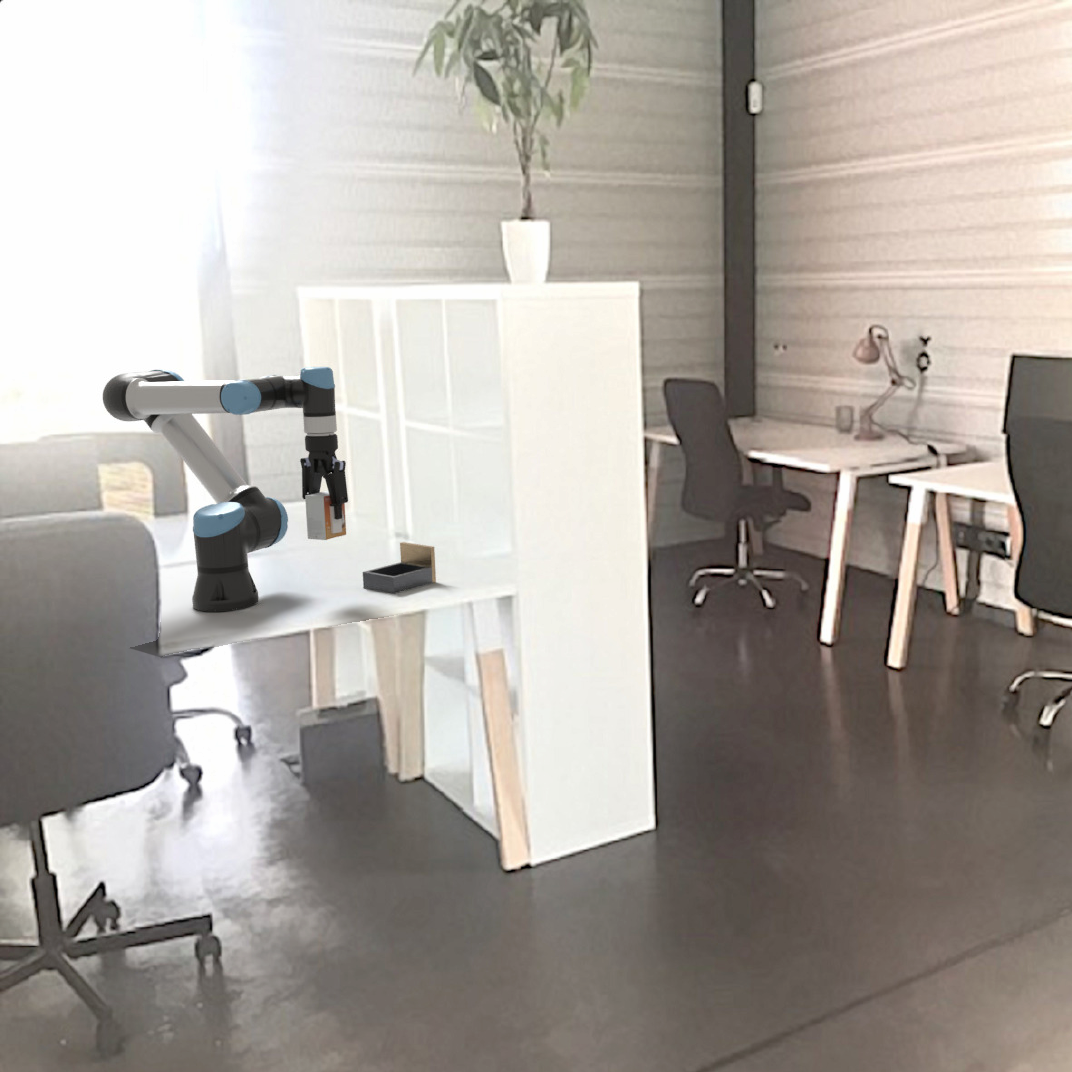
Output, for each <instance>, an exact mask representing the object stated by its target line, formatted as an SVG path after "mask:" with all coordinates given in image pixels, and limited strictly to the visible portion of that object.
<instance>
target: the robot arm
mask: <svg viewBox="0 0 1072 1072" xmlns="http://www.w3.org/2000/svg"><path fill="white" fill-rule="evenodd" d="M334 379H335V378H334V372H333V369H332V368H331V367H329V366H308V367H307V366H306V367H301V369H300V374H299V375H278V374H273V375H263V376H261V377H260V378H251V379H229V380H227V379H225V380H223V379H222V380H194V381H193V380H190V381H189V380H187V381H186V380H184V379H183V377H181V376H180V374H178V373H176V372H174V371H172V370H166V369H164V370H163V369H153V370H149V371H138V372H127V373H126V372H125V373H120V374H118V375H115V376H114V377H112V378H111V379H110V380H109V381H107V383H106V384H105V385H104V387H103V391H102V402H103V405H104V408H105V410H106V412H108V414H109V415H110V416H111V417H113V418H114V419H117V420H118V421H121V422H138V421H144V422H145V423H146V425H147V426H148V428H150V430H151V431H152V432H153V433H154V434H162V435H163V436H164V438H165V439H166V440H167V441H168V443H169V444H170V445H171V447H172V448H173V449H174V450H175V452H176V453H177V455H179V457H180V459H182V461H183V462H184V463H185V465H186V466H187V467H188V469H189V470H190V471H191V472H192V474H193V475H194V476H195V477H196V478H197V480H198V481H199V483H201V485H202V486H203V487H204V489H205V490H206V492H207V493H209V495H210V496H211V498H212V499H213V500H214V501H215V503H212V504H208V505H205V506H203V507H201V508H199V509H198V510H196V511H195V513H194V514H193V517H192V518H193V521H192V522H193V523H192V524H193V526H192V532H193V538H194V549H195V551H194V552H195V558H196V568H197V569H196V570H197V578H196V581H195V586H194V590H193V595H192V599H191V600H192V608H193V609H195V610H197V611H202V612H209V613H210V612H212V613H213V612H215V613H216V612H230V611H235V610H237V611H238V610H241V609H242V610H243V609H247V608H250V607H252V606H255V605H256V604H258V603H259V600H260V599H259V598H260V597H259V592H258V589H257V586H256V585H255V584H256V583H255V582H254V580H253V577H252V575H251V571H250V570H249V562H248V561H249V560H248V554H250V553H252V552H256V551H259V550H262V549H267V548H270V547H272V546H274V545H276V544H277V543H279V542H280V541H282V539H283V538H285V535H286V534H287V532H288V529H289V527H288V523H289V517H288V516H289V514H288V513H287V510H286V507H285V506H284V504H283V503H282V502H281V501H280V500H278V499H276V498H273V497H269V496H267V497H266V496H265V495H264V494H263V492H262V491H261V490H260V488H259V487H257V486H255V485H249V484H247V482H246V481H245V480H244V479H243V477H242V476H241V475H240V474H239V472H238V471H237V470H236V468H235V467H234V465H232V463H231V462H230V461H229V459H228V458H227V457H226V456H225V454H224V453H223V452H222V450H220V448H219V447H218V446H217V444H216V443H215V442H214V440H213V439H212V438H211V437H210V436H209V434H208V433H207V432H206V430H205V429H204V428H203V426H202V425H201V423H199V421H198V420H197V419H196V418H195V416H194V414H195V415H196V414H197V415H198V414H199V415H201V414H202V415H203V414H206V415H207V414H231V415H236V416H237V415H239V416H243V415H244V416H245V415H250V414H253V413H260V412H265V411H273V410H279V409H302V413H303V414H302V415H303V416H302V417H303V418H302V419H303V432H304V433H305V434H306V435H305V436H304V447H305V451H306V452H307V453H308V456H307V457H302V458H300V459H299V462H300V466H301V486H302V487H301V489H302V491H301V493H302V494H301V497H302V499H303V500H305V495H311V494H315V493H319V492H321V486H322V481H323V479H324V480H325V483H326V488H327V491H329V495H330V499H331V502H332V504H330V522H331V533H332V534H334V533H339V532H342V521H341V519H342V504H344V503H345V504H346V503H349V495H348V486H347V477H346V461H345V460H340V459H338V458H337V456H336V455H337V454H336V451H337V450H338V449H339V439H338V435H337V434H336V433H337V431H338V427H337V415H336V414H337V413H336V396H335V395H336V394H335V391H336V390H335V388H336V385H335V380H334ZM336 499H337V500H336Z"/></svg>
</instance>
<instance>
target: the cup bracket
mask: <svg viewBox="0 0 1072 1072" xmlns="http://www.w3.org/2000/svg"><path fill="white" fill-rule="evenodd" d="M399 550H400V562H397V563H393V564H389V565H384V566H381V567H376V568H374V569H369V570H365V571H363V572H362V583H363V586H362V587H363V589H368V590H374V591H378V592H382V593H388V594H395V595H396V594H399V593H403V592H407V591H409V590H412V589H417V588H419V587H423V586H427V585H430V584H434V583H436V582H437V579H436V578H437V575H436V574H437V573H436V556H435V555H436V554H435V546H432V545H426V544H421V543H419V544H418V543H412V542H406V541H402V542H399Z"/></svg>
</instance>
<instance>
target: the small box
mask: <svg viewBox="0 0 1072 1072" xmlns="http://www.w3.org/2000/svg"><path fill="white" fill-rule="evenodd" d="M304 500H305V515H306V518H305V519H306V529H307V530H306V531H307V532H306V533H307V539H308V540H319V541H328V540H331V539H334V538H339V537H344V536H346V535H347V528H346V527H347V524H346V505H345V504H346V503H344V504H342V519H341V521H342V532H339V533H334V534H332V533H331V522H330V504H332V502H331V499H330V495H329V491H328V490H324V491H320V492H319V493H315V494H311V495H305V499H304ZM336 500H337V499H336Z"/></svg>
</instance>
